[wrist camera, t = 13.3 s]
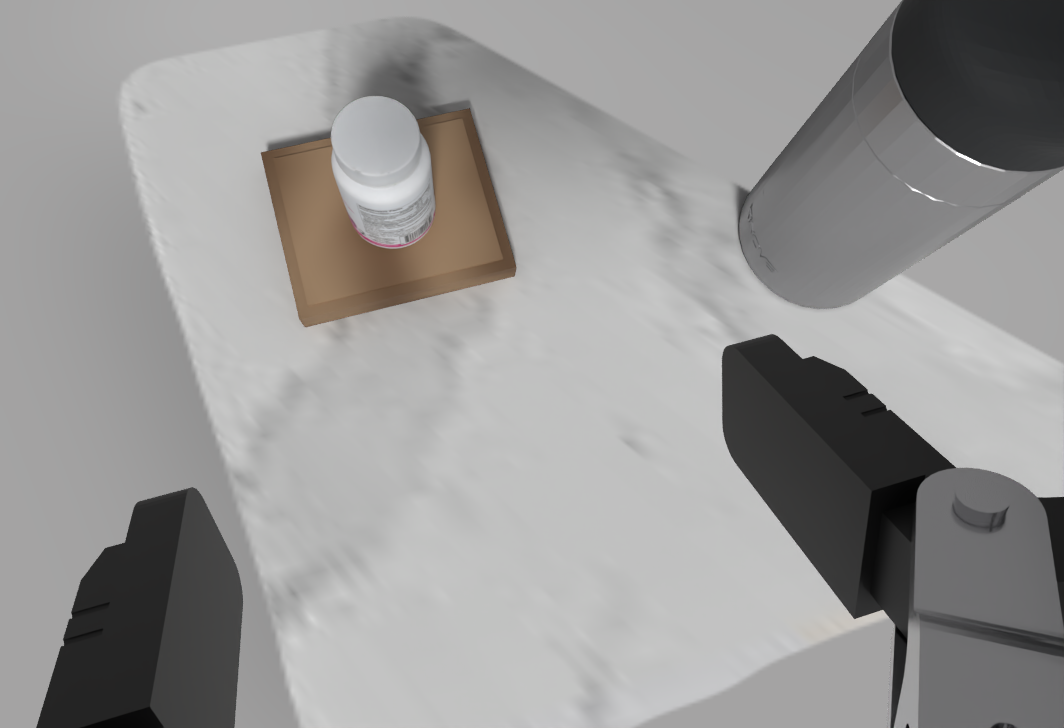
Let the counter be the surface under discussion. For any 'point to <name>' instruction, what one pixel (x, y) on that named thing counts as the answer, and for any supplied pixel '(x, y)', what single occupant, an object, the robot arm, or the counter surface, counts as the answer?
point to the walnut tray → (375, 272)
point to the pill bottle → (383, 171)
